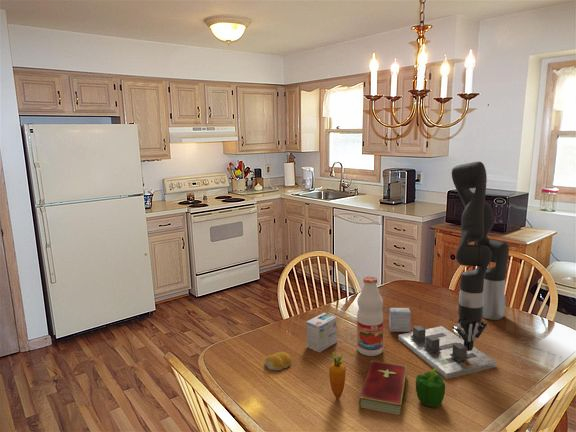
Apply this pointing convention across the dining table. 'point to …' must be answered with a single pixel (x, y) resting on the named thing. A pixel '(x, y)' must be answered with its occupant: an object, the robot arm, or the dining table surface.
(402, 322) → the medicine box
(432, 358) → the switch panel
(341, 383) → the carrot
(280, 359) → the bread roll
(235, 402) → the dining table surface
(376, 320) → the fruit juice
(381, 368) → the hardcover book
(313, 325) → the light bulb box
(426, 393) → the bell pepper
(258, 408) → the dining table surface
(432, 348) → the lever middle
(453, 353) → the lever
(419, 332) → the lever right
